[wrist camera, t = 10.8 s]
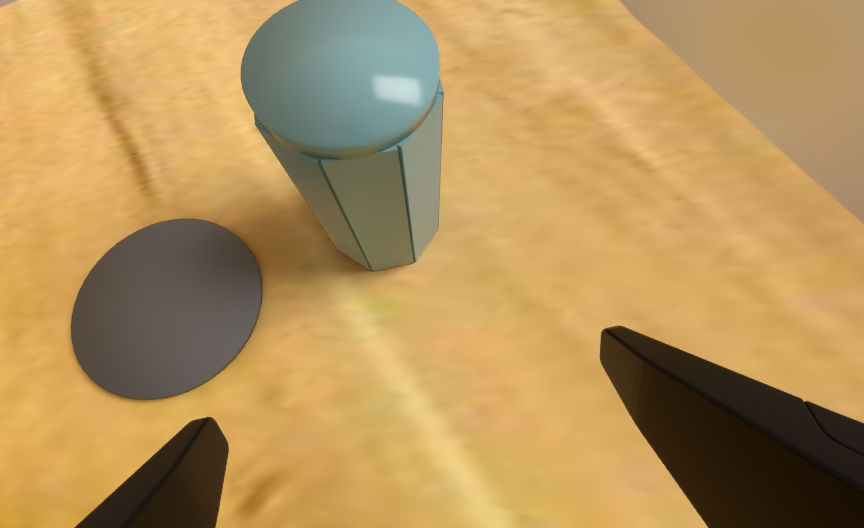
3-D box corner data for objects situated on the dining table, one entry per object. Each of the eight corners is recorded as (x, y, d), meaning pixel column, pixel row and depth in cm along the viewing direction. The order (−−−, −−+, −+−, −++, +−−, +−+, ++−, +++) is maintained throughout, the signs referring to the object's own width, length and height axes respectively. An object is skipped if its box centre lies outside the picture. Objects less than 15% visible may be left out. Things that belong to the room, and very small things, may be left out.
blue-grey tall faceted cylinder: (397, 288, 23) (362, 181, 12) (311, 234, 25) (197, 84, 13) (455, 205, 25) (476, 38, 13) (372, 158, 27) (323, -34, 15)
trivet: (180, 437, 21) (176, 438, 20) (37, 339, 22) (30, 338, 22) (297, 269, 24) (295, 267, 24) (163, 194, 26) (159, 191, 25)
